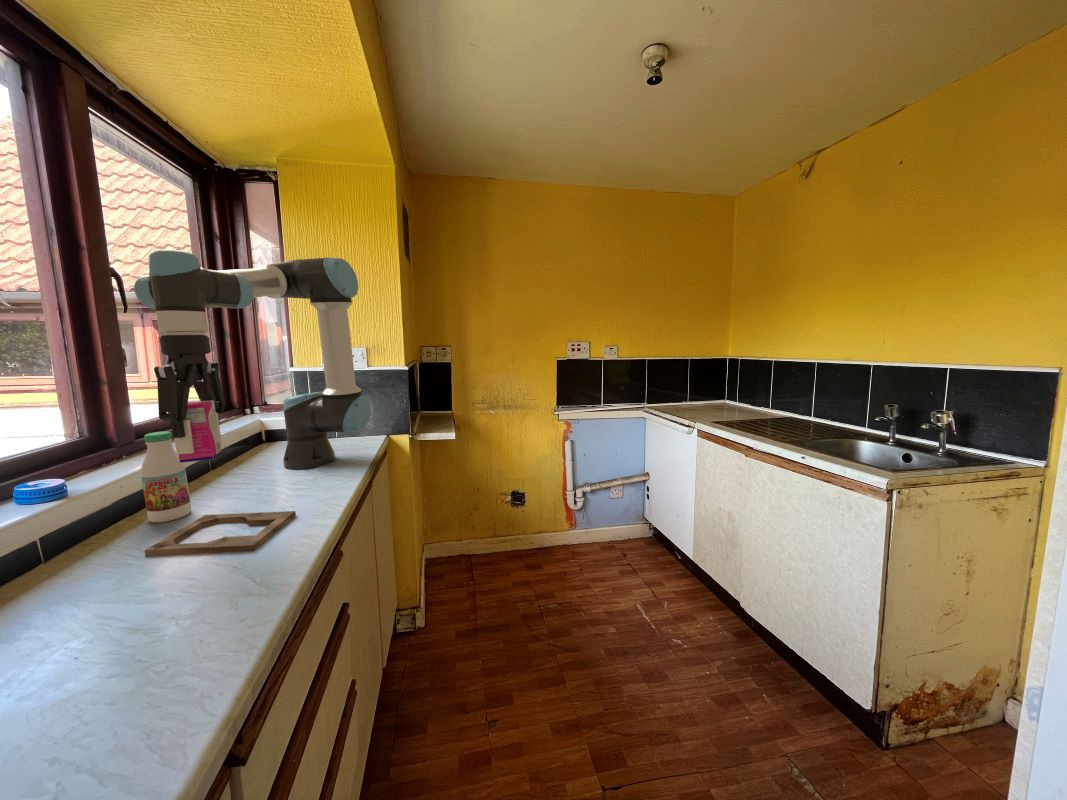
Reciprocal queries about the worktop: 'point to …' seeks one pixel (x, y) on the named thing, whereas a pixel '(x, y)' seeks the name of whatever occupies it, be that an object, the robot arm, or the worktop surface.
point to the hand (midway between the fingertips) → (200, 447)
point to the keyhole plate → (226, 543)
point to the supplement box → (202, 431)
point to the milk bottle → (164, 480)
